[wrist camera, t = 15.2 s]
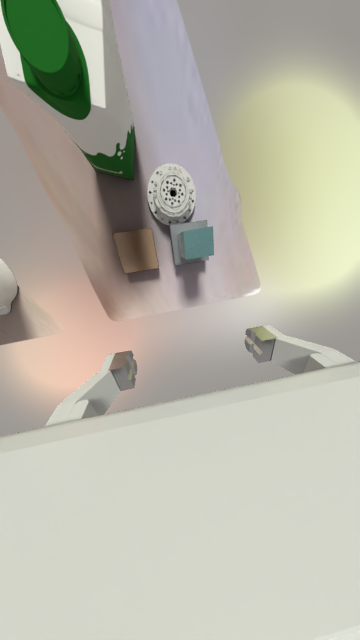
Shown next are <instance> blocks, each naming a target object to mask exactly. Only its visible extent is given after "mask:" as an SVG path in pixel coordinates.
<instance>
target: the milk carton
mask: <svg viewBox="0 0 360 640" xmlns="http://www.w3.org/2000/svg"><path fill="white" fill-rule="evenodd" d="M0 44H1V49H2V53H3V58H4V62H5V66H6V70H7V75H8V77H9V78H10V80H11V81H12V82H13V83H15V84H16V85H17V86H18V87H19V88H20V89H21V90H23V91H24V92H25V93H26V94H27V95H28V96H29V97H30V98H32V99H33V100H34V101H35V102H36V103H37V104H38V105H39V106H41V107H42V108H43V109H44V110H45V111H46V112H47V113H48V114H50V115H51V116H52V117H53V118H54V119H55V120H56V121H57V122H58V123H59V124H60V126H61V127H62V128H63V129H64V130H65V132H66V133H67V134H68V135H69V136H70V138H71V139H72V140H73V141H74V143H75V144H76V145H77V146H78V147H79V149H80V150H81V151H82V152H83V154H84V155H85V157H86V158H87V159H88V161H89V162H90V164H91V165H92V167H93V168H94V170H95V171H98V172H102V173H106V174H110V175H114V176H118V177H122V178H126V179H130V180H133V170H134V138H135V130H134V122H133V117H132V112H131V108H130V103H129V98H128V93H127V88H126V83H125V79H124V74H123V70H122V65H121V58H120V54H119V51H118V45H117V40H116V34H115V29H114V23H113V18H112V12H111V7H110V1H109V0H0Z"/></svg>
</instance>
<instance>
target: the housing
mask: <svg viewBox="0 0 360 640" xmlns="http://www.w3.org/2000/svg"><path fill="white" fill-rule="evenodd" d="M178 242H179V250H180V257H182V258H184V259H186V260H188V259H193V258H199V257H205V256H211V255H214V244H213V226H212V227H206V228H199V229H193V230H187V231H183V232H181V233H179V234H178Z"/></svg>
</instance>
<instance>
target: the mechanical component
mask: <svg viewBox="0 0 360 640" xmlns="http://www.w3.org/2000/svg"><path fill="white" fill-rule="evenodd" d="M173 190H174V191H175V192H176V194H177V195H176V196H175V194H174V191H173ZM164 191H165V192H164ZM169 191H171V192H172V193H173V195H174V196H175V197H171V195H170V194H171V192H169ZM149 193H151V194H149ZM160 193H161V194H160ZM147 195H148V203H149V206H150V209H151V211H152V213H153V214H154V216H155V217H156V218H157V219H158V220H159V221H160V222H161V223H163V224H165V225H168V226H170V225H175V224H182V223H184V222H185V221H186V220H187V219H188V218H189V217H190V215H191V213H192V212H193V209H194V206H195V201H196V192H195V186H194V183H193V181H192V178H191V177H190V175H189V174H188V172H187V171H186V170H185V169H184V168H182V167H181V166H179V165H176V164H173V163H172V164H164V165H162V166H160V167H158V168H157V169H156V170H155V171H154V173H153V174H152V176H151V178H150V180H149V184H148V190H147ZM178 197H179V198H178ZM165 199H166V200H165ZM174 201H176V202H174ZM192 201H193V203H192ZM178 202H179V203H178ZM151 203H152V204H151ZM171 204H173V205H171ZM189 211H190V212H189ZM155 212H157V214H155ZM183 217H185V219H184V218H183ZM162 219H163V220H162ZM169 221H170V222H171V224H169ZM177 222H178V223H177Z"/></svg>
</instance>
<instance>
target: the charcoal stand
mask: <svg viewBox="0 0 360 640" xmlns="http://www.w3.org/2000/svg"><path fill="white" fill-rule="evenodd" d="M206 227H207V220H203V221H196V222H189V223H182V224H175V225H170V226H169V230H170V237H171V244H172V251H173V258H174V264H175V265H181V264H187V263H193V262H199V261H206V260H209V258H208V256H205V257H199V258H193V259H188V260H186V259H184V258H182V257H180V250H179V242H178V234H179V233H181V232H183V231H187V230H193V229H199V228H206Z"/></svg>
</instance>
